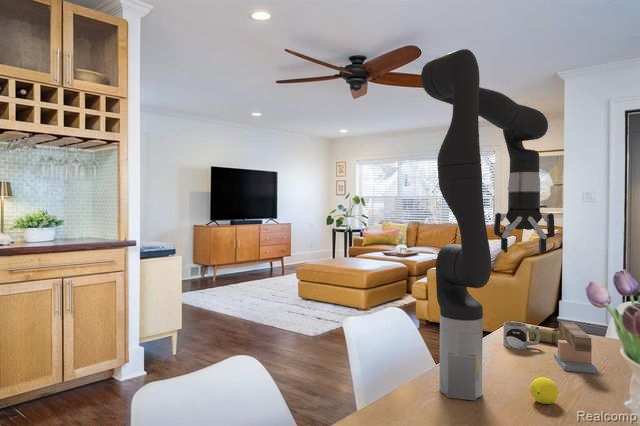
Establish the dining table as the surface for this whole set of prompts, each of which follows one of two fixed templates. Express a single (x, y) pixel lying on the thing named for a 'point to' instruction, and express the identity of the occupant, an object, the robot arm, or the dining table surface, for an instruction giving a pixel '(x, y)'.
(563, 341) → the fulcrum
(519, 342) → the mug
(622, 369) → the dining table surface
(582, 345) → the walnut bar
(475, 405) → the dining table surface
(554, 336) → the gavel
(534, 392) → the lemon
